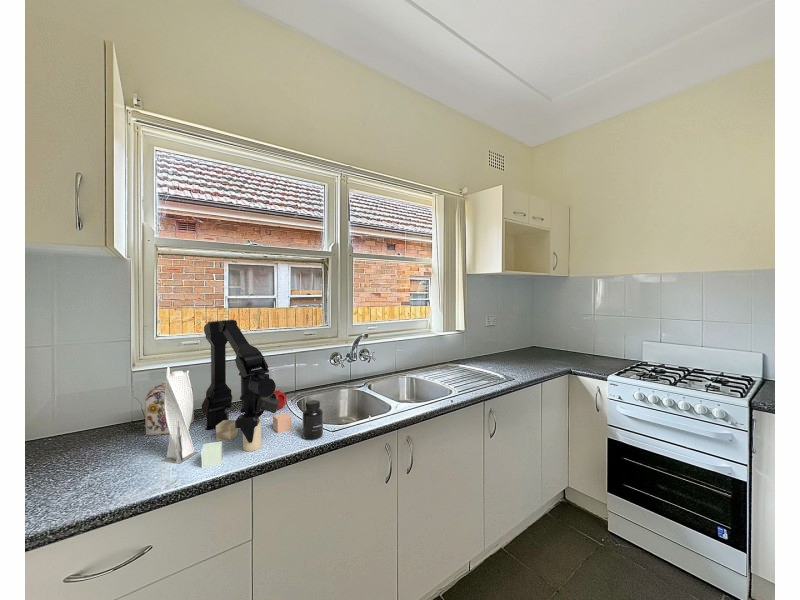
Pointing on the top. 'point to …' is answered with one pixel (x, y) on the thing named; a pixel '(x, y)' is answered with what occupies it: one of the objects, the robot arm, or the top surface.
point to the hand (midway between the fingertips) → (252, 438)
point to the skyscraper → (178, 416)
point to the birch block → (226, 430)
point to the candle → (256, 440)
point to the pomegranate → (280, 398)
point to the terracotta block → (282, 422)
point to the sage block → (211, 454)
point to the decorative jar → (157, 411)
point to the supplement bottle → (312, 420)
